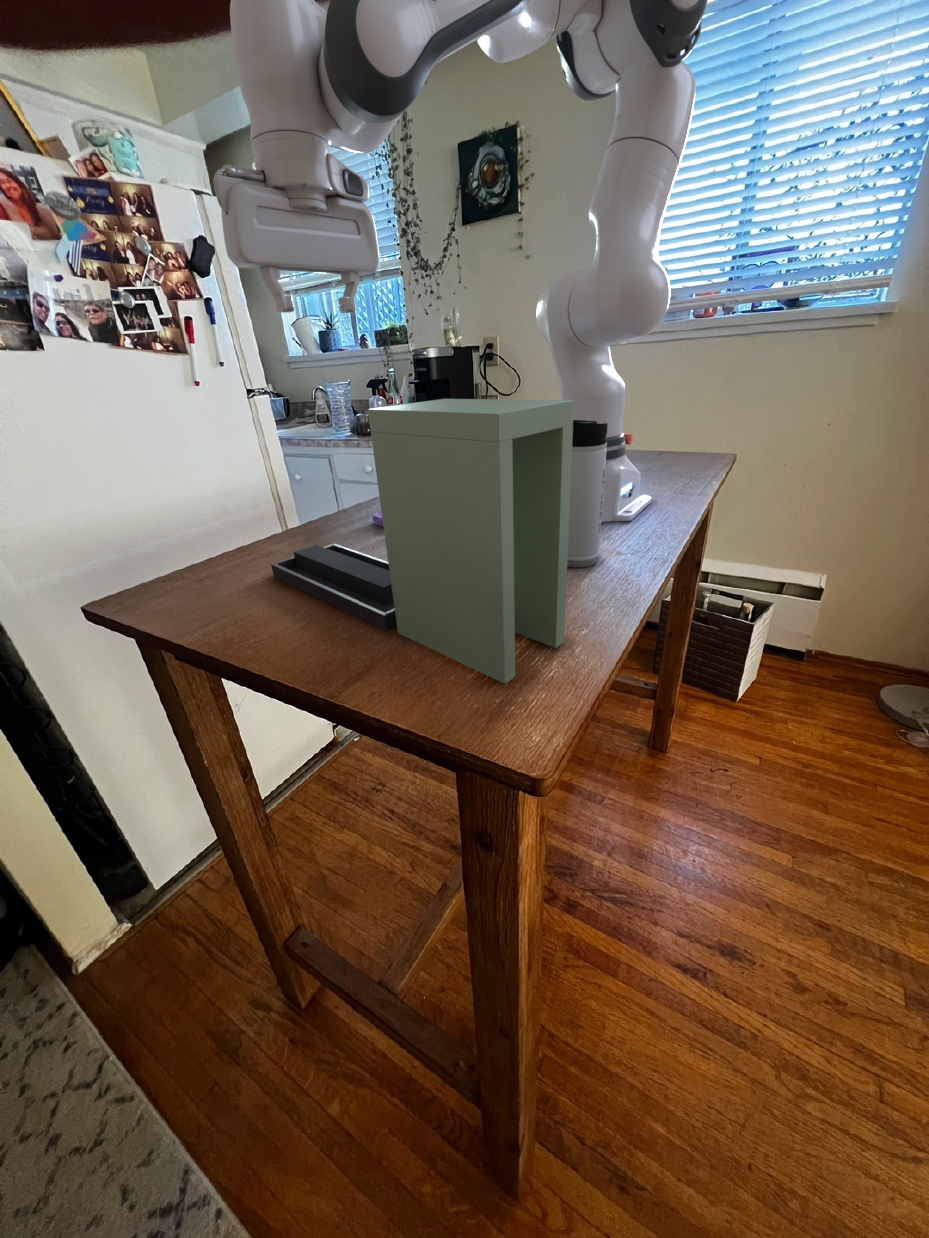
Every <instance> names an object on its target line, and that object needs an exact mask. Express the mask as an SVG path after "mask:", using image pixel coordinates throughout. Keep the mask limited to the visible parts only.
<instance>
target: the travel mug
mask: <svg viewBox="0 0 929 1238" xmlns="http://www.w3.org/2000/svg"><path fill="white" fill-rule="evenodd" d="M607 429H608V423H597V421H586V420H573V438H572V462H571V486H570V510H569V534H568V558H567V568H575V569H577V568H579V569H581V568H588V567H593V566H595V565H596V564H597V563H598V562H599V558H600V547H601V533H602V532H601V531H602V522H601V519H602V505H603V491H604V477H605V463H606V446H607V437H606V435H607Z"/></svg>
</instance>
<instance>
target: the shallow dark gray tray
mask: <svg viewBox="0 0 929 1238" xmlns="http://www.w3.org/2000/svg"><path fill="white" fill-rule="evenodd" d="M323 547H324V548H327V549H329V550H332V551H335V552H338V553H341V554H343V555H346V556H349V557H352V558H355V559H357V560H360V561H363V562H366V563H369V564H371V565H374V566H377V567H380V568H383V569H385V570H388V571H390V570H389V563H388V560H387V561H386V560H384V559H381V558H379V557H375V556H372V555H369V554H366V553H364V552H361V551H357V550H355V549H352V548H349V547H345V546H343V545H340V544H336V543H332V544H329V545H326V546H323ZM270 567H271V570H272V575H273V578H274V579H277V580H279V581H281V582H283V583H285V584H287V585H289V586H291V587H293V588H295V589H297V590H300V591H301V592H304V593H306V594H308V595H310V596H312V597H314V598H316V599H318V600H320V601H322V602H325V603H326V604H329V605H330V606H332V607H335V608H336V609H339V610H341V611H343V612H345V613H347V614H349V615H351V616H353V617H354V618H355V617H356V618H357V619H360V620H362V621H363V622H366V623H368V624H370V625H372V626H374V627H376V628H378V629H380V630H383V631H384V632H388V631H390V630H391V629H395V628H397V622H396V615H395V607H394V602H392V603H390V604H388V605H384V604H382V603H379V602H377V601H375V600H372V599H370V598H368V597H365V596H363V595H361V594H358V593H356V592H354V591H351V590H349V589H347V588H344V587H342V586H340V585H337V584H335V583H333V582H330V581H328V580H325V579H323V578H321V577H318V576H316V575H314V574H311V573H309V572H307V571H304V570H302V569H300V568H297V566H296V561H295V557H294V556H292V557H289V558H286V559H283V560H279V561H276V562H274V563H271V564H270Z"/></svg>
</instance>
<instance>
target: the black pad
mask: <svg viewBox="0 0 929 1238" xmlns="http://www.w3.org/2000/svg"><path fill="white" fill-rule="evenodd" d="M324 547H325V546H321V545H318V544H314V545H311V546H307V547H305V548H302V549H299V550H295V551H293V557H295V561H296V566H297V568H300V569H302V570H304V571H307V572H309V573H311V574H314V575H316V576H318V577H321V578H323V579H325V580H328V581H330V582H333V583H335V584H337V585H340V586H342V587H344V588H347V589H349V590H351V591H354V592H356V593H358V594H361V595H363V596H365V597H368V598H370V599H372V600H375V601H377V602H379V603H382V604H384V605H388V604H390V603H392V602H394V600H393V593H392V585H391V578H390V571H388V570H385V569H383V568H380V567H377V566H374V565H371V564H369V563H366V562H363V561H360V560H357V559H355V558H352V557H349V556H346V555H343V554H341V553H338V552H335V551H332V550H329V549H327V548H324Z"/></svg>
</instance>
